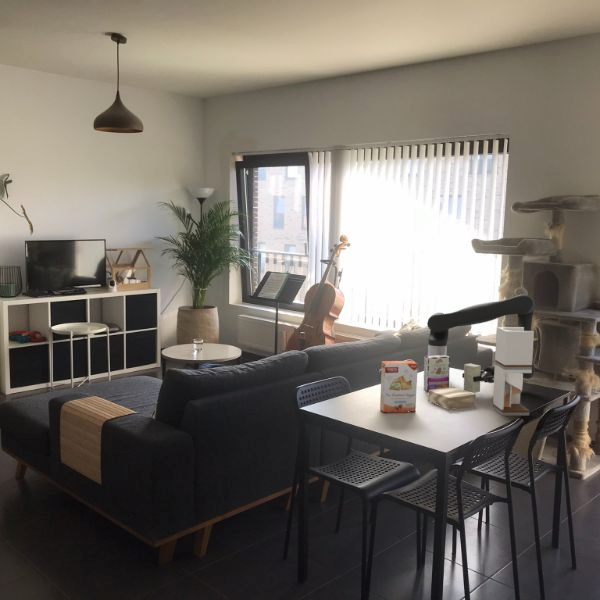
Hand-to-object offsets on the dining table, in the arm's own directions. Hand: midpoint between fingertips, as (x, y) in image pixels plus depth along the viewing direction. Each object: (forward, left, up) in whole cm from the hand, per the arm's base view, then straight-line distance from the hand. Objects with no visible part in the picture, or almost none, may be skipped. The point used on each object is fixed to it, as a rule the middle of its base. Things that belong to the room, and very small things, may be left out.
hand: (468, 377), depth 287 cm
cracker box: (+4, -41, -10) cm, 42 cm away
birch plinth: (+4, -13, -9) cm, 16 cm away
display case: (+24, +2, -10) cm, 26 cm away
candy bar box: (-17, -5, -10) cm, 20 cm away
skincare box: (0, +2, -7) cm, 7 cm away
